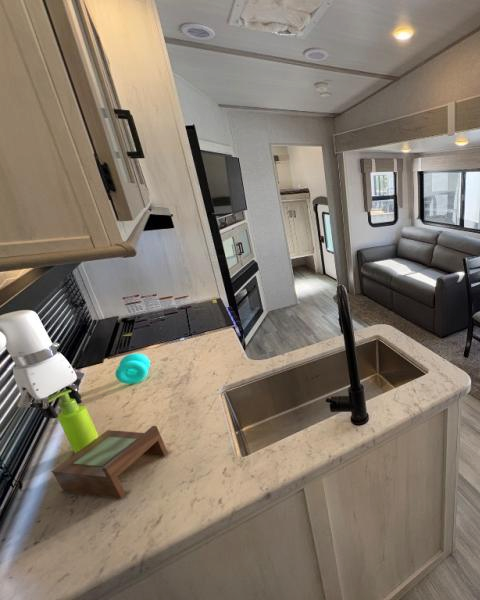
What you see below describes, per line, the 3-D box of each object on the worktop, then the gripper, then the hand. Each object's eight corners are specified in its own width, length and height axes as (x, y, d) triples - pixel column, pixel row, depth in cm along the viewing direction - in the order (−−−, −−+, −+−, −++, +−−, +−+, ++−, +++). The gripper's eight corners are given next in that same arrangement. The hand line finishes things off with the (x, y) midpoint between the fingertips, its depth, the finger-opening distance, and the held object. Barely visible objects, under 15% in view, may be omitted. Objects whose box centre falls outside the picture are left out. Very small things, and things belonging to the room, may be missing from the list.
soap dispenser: (65, 455, 91) (37, 399, 85) (92, 438, 98) (67, 384, 92) (79, 458, 90) (51, 401, 84) (105, 441, 96) (81, 386, 90)
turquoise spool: (153, 369, 136) (146, 349, 132) (150, 380, 128) (142, 359, 124) (125, 377, 131) (116, 356, 128) (120, 388, 123) (110, 367, 119)
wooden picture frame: (63, 491, 80) (45, 462, 77) (117, 448, 93) (103, 421, 90) (121, 498, 78) (105, 468, 74) (168, 453, 90) (156, 425, 87)
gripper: (61, 340, 91) (86, 390, 97) (-21, 373, 75) (16, 431, 81) (82, 340, 90) (106, 391, 96) (3, 374, 74) (39, 433, 80)
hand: (64, 409), depth 89 cm, fingers closed on soap dispenser, 5 cm apart
